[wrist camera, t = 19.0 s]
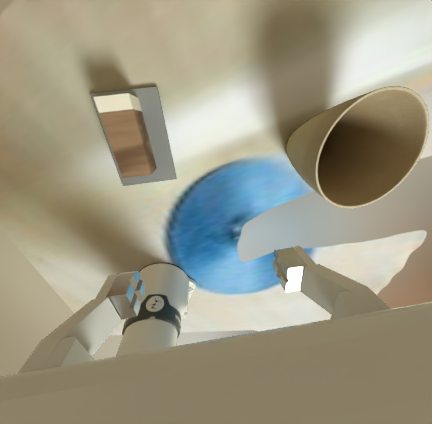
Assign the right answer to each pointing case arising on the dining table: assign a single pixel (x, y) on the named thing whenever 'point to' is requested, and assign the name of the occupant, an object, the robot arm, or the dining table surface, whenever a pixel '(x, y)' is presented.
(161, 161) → the grey mat
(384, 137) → the plant pot
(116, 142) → the walnut block
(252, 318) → the dining table surface
